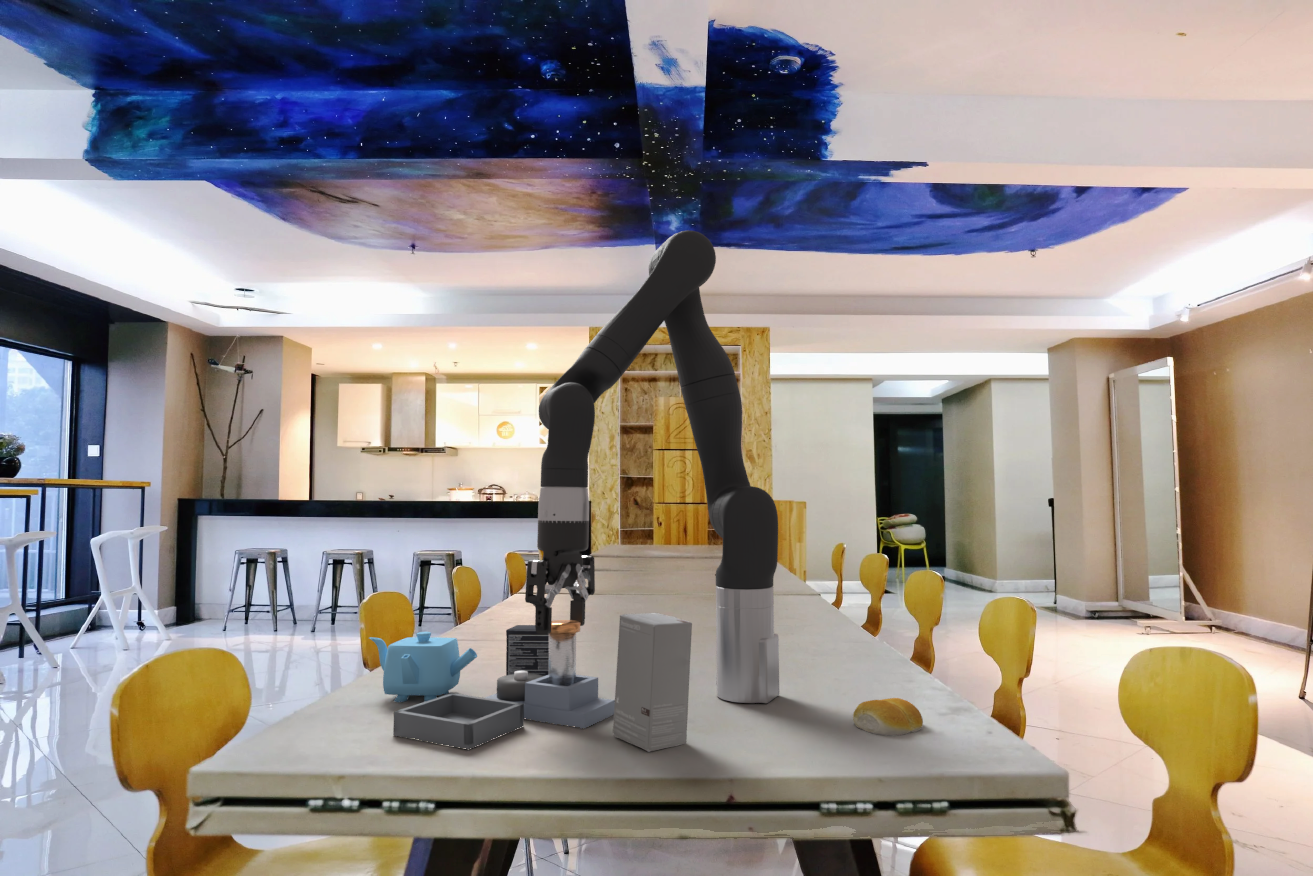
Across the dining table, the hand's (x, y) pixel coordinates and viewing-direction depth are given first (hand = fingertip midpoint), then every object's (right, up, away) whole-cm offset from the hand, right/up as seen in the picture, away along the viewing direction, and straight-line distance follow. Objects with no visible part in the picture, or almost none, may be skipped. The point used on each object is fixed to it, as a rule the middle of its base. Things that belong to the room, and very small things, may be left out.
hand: (560, 629), depth 109 cm
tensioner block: (-2, -12, 0) cm, 12 cm away
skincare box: (+14, -11, -13) cm, 22 cm away
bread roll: (+46, -12, -7) cm, 48 cm away
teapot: (-24, -13, +9) cm, 29 cm away
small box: (-5, -14, +13) cm, 19 cm away
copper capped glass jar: (0, -10, -1) cm, 10 cm away
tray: (-13, -12, -8) cm, 19 cm away
